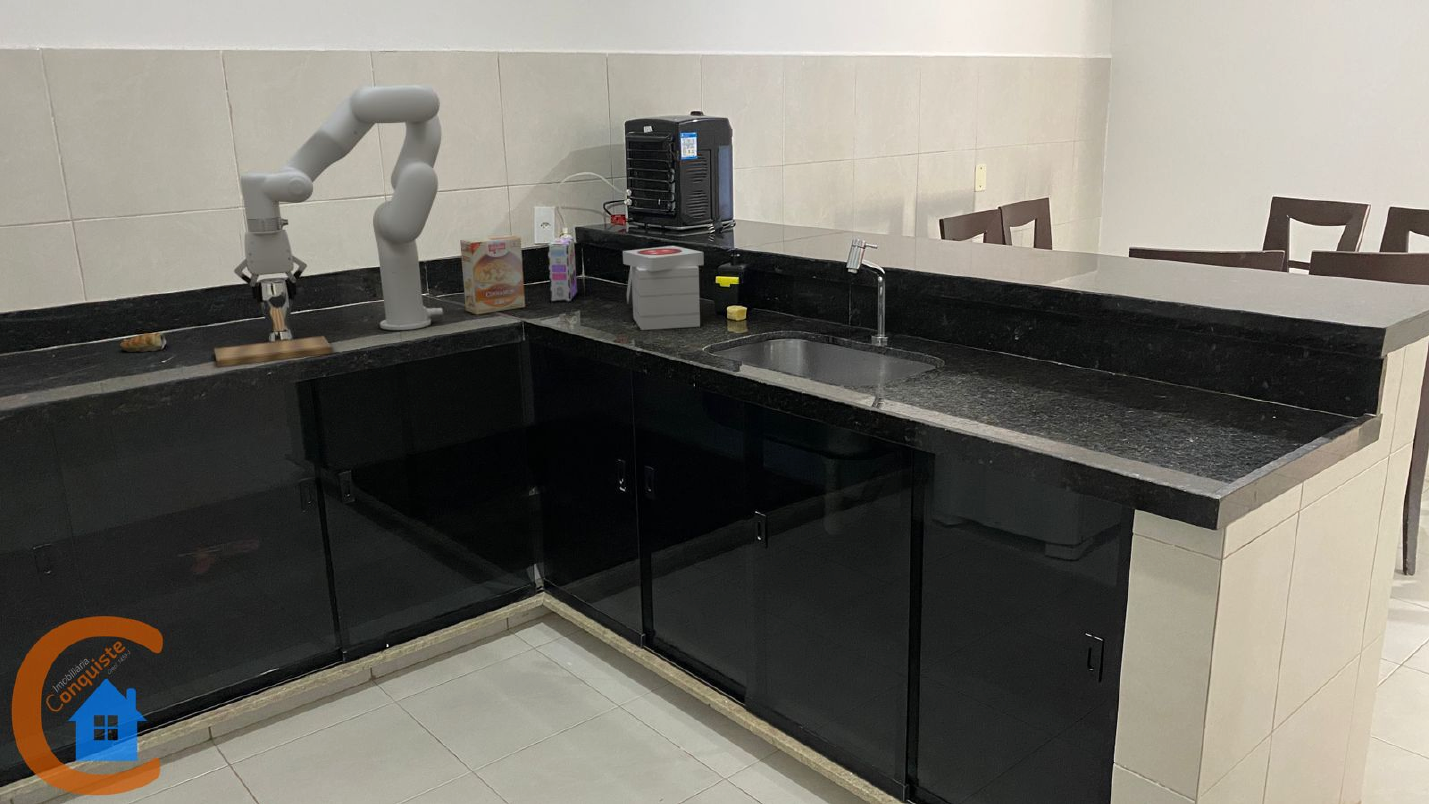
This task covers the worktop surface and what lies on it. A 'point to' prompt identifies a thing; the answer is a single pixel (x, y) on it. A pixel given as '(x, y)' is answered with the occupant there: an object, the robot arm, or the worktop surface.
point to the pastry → (144, 342)
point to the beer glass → (276, 308)
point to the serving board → (272, 351)
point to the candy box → (562, 269)
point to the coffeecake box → (492, 274)
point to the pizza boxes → (664, 286)
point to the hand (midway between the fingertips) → (275, 299)
